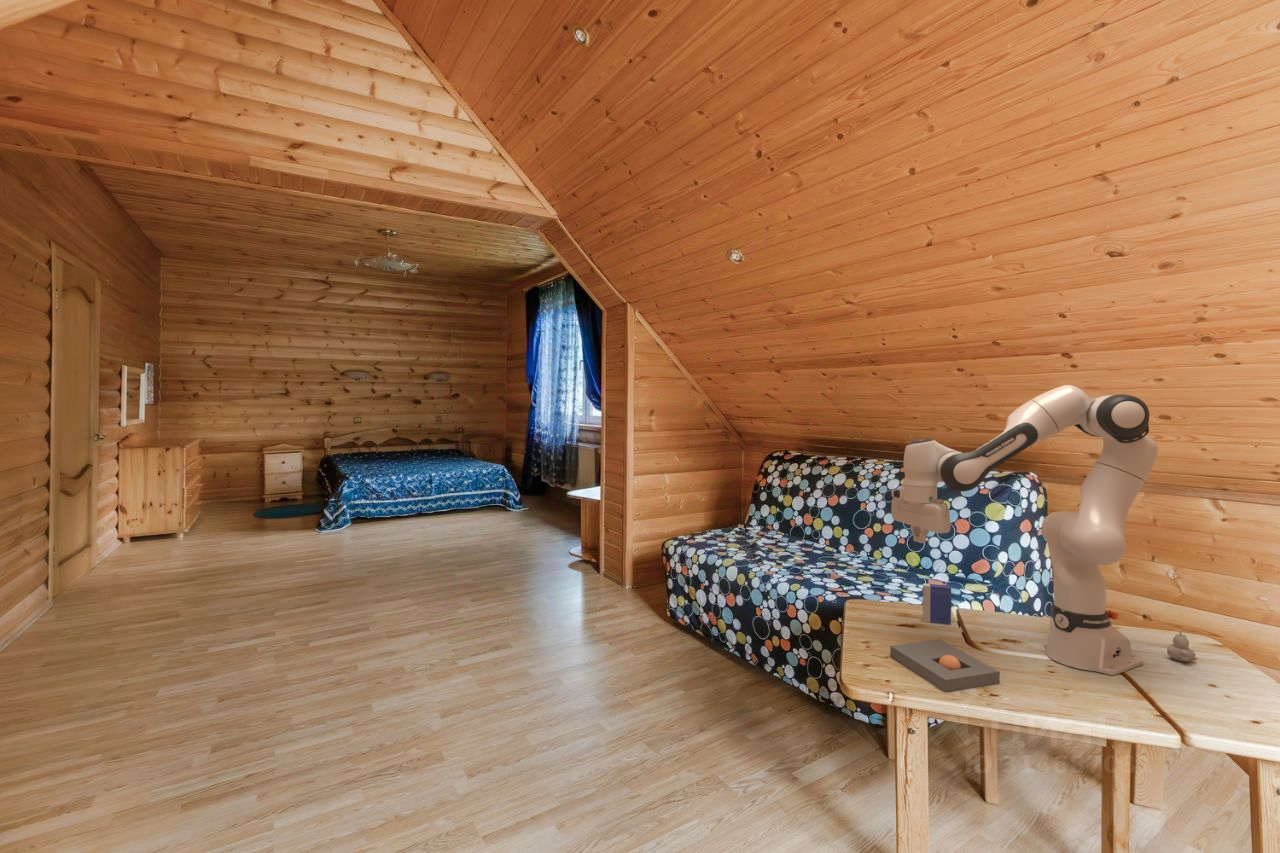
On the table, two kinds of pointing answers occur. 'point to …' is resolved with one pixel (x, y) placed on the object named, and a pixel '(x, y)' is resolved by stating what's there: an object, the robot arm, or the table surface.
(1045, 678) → the table surface
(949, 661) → the ball
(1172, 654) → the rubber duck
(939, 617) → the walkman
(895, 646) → the pocket board
